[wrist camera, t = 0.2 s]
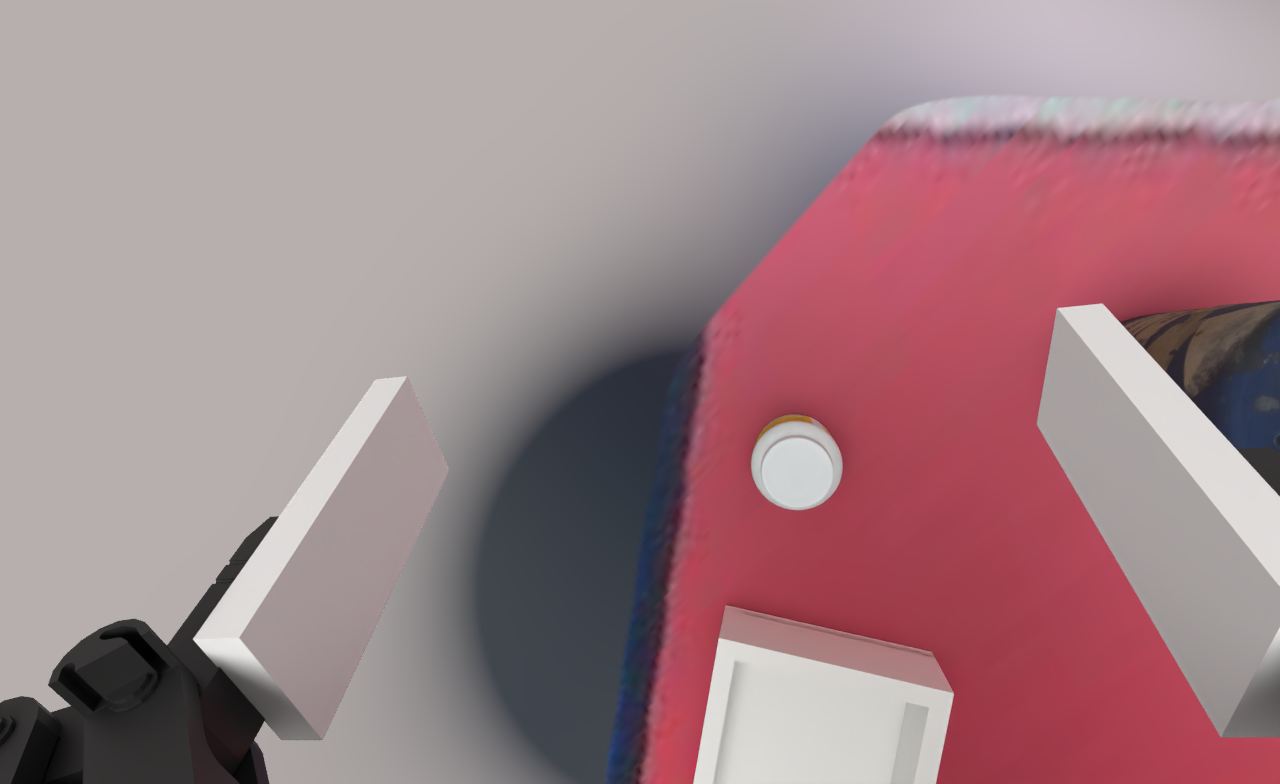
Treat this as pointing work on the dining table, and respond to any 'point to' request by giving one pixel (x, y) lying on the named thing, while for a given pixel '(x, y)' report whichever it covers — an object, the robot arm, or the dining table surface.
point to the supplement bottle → (796, 462)
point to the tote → (819, 707)
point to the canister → (1222, 365)
